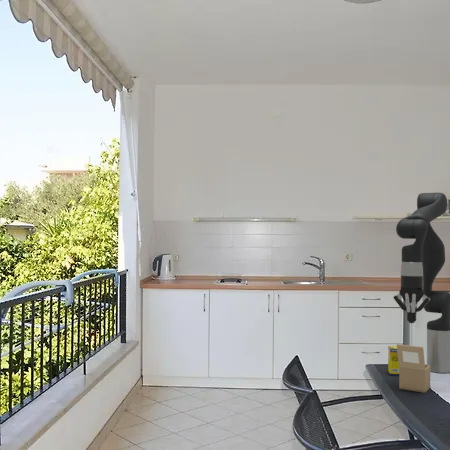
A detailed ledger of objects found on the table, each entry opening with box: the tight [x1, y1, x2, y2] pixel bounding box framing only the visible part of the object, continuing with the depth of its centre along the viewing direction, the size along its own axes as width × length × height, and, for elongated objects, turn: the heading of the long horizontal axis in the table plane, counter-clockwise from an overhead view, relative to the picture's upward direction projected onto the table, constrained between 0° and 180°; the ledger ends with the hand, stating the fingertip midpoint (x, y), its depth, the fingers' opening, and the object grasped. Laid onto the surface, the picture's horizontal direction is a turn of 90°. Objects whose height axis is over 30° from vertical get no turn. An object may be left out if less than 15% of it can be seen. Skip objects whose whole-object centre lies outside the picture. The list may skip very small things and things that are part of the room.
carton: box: [398, 364, 431, 394], centre depth 192 cm, size 9×9×8 cm
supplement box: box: [387, 345, 400, 377], centre depth 212 cm, size 6×6×11 cm
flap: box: [396, 343, 426, 370], centre depth 187 cm, size 9×9×1 cm
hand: (411, 322), depth 188 cm, fingers closed
